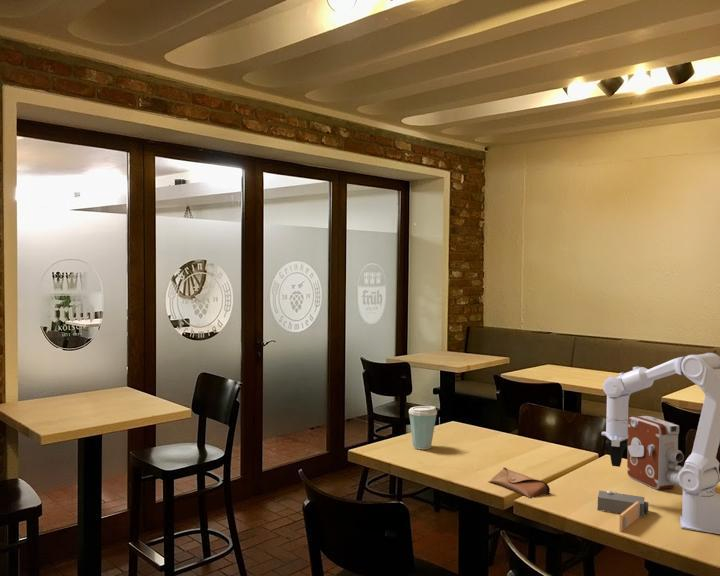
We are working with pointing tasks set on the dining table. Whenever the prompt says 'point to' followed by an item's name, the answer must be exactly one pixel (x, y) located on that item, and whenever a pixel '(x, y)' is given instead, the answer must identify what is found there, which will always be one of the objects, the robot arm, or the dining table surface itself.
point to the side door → (629, 515)
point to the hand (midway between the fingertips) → (616, 465)
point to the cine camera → (653, 452)
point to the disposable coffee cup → (422, 425)
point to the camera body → (620, 502)
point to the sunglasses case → (520, 483)
